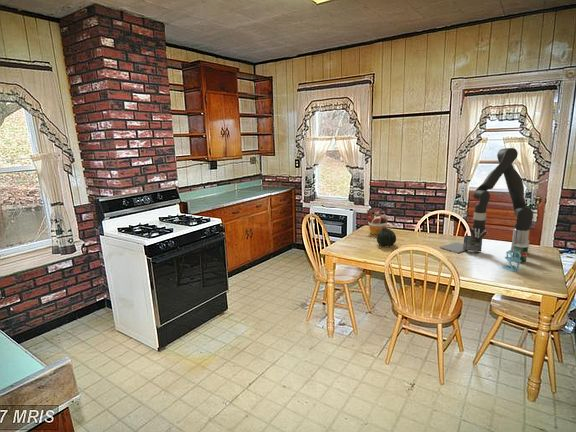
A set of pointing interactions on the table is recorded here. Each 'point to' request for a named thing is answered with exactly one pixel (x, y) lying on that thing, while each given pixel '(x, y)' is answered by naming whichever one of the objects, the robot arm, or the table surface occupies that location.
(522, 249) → the canned tomato
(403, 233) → the table surface
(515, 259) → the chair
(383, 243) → the squash
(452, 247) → the mat
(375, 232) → the bucket of meat
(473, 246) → the small box
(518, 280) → the table surface
